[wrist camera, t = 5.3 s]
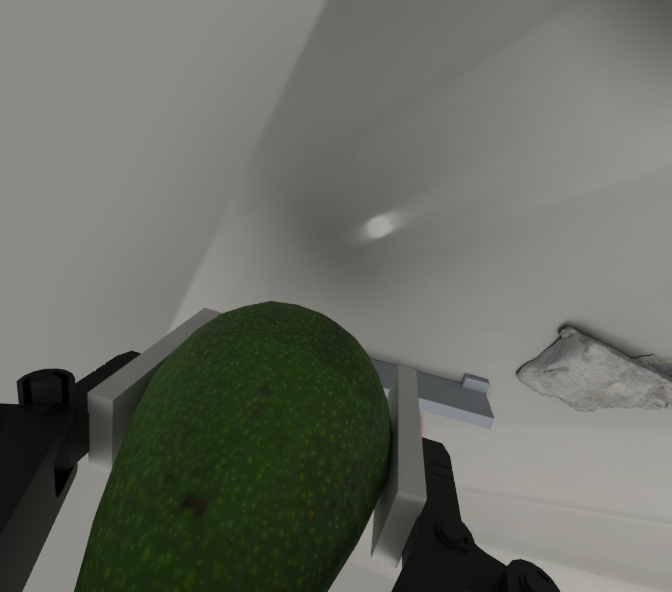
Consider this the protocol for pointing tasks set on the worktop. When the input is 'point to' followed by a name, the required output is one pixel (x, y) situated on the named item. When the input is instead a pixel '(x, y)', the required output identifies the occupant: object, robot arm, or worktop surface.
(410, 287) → the worktop surface
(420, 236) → the worktop surface
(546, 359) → the stone
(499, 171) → the worktop surface
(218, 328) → the fruit
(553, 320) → the worktop surface
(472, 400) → the acrylic wall
